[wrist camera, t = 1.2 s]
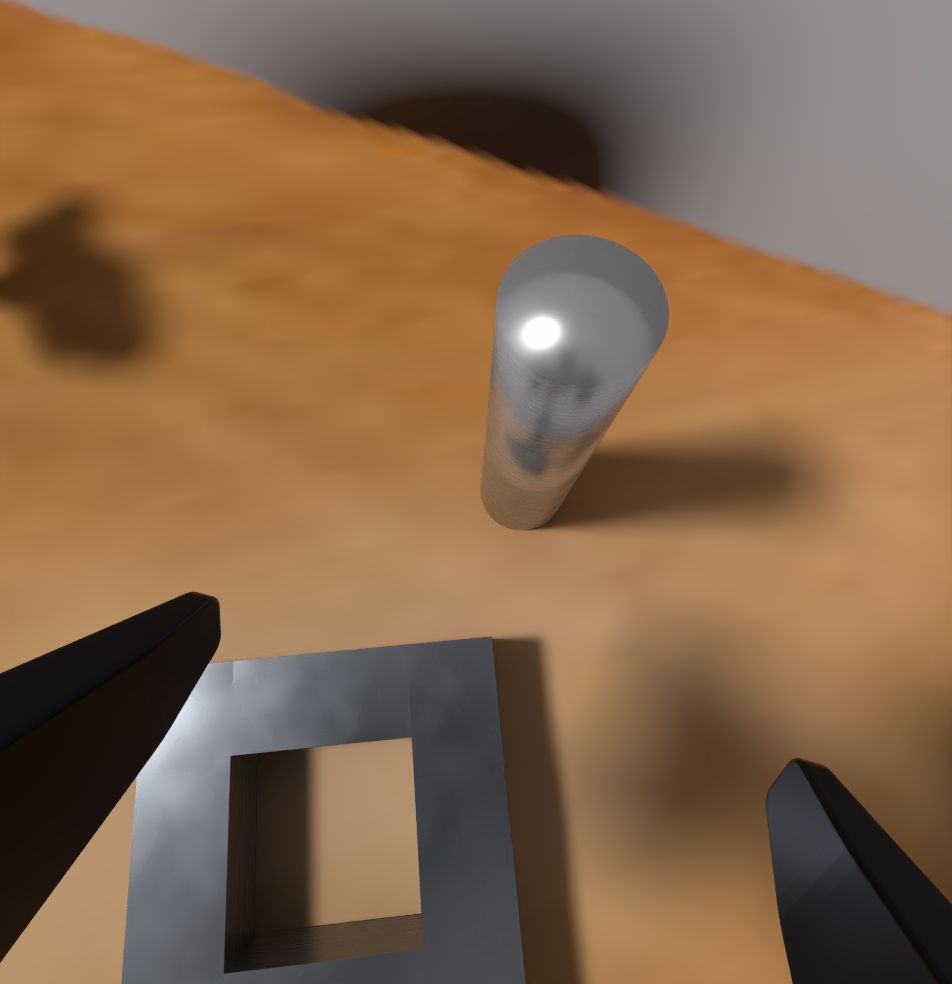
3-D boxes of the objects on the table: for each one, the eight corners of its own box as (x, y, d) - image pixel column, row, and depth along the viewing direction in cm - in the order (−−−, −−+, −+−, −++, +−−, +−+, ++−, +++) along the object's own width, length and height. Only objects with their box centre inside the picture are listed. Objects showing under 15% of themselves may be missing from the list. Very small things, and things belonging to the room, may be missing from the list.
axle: (567, 526, 23) (684, 376, 11) (484, 533, 23) (506, 390, 11) (556, 449, 24) (651, 229, 12) (476, 455, 24) (488, 240, 12)
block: (524, 1007, 18) (533, 1060, 16) (159, 1053, 18) (111, 1114, 16) (488, 638, 22) (491, 636, 19) (180, 668, 21) (144, 669, 19)
